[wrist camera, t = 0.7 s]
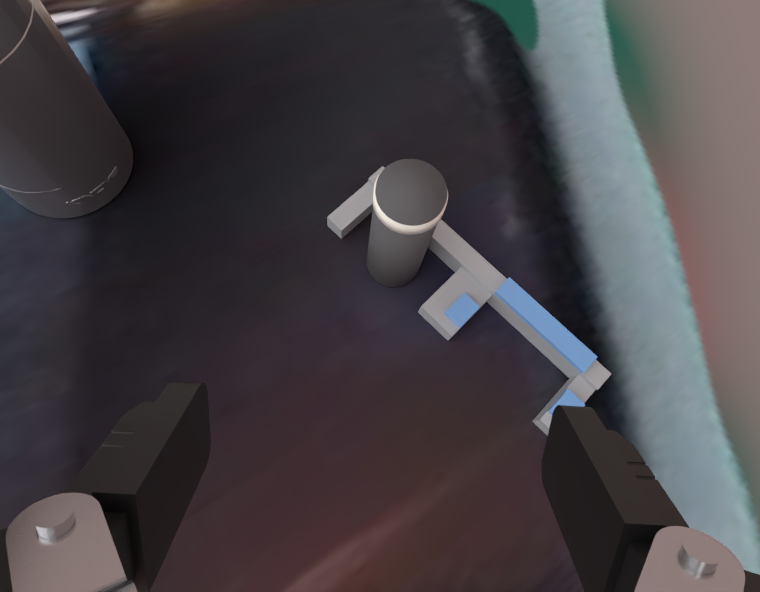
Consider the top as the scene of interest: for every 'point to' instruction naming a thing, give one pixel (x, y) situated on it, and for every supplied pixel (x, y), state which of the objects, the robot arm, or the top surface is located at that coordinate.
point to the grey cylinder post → (404, 219)
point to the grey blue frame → (487, 284)
